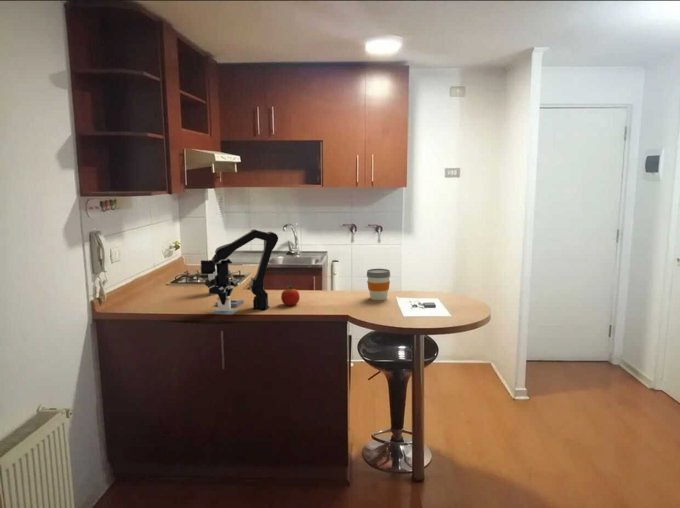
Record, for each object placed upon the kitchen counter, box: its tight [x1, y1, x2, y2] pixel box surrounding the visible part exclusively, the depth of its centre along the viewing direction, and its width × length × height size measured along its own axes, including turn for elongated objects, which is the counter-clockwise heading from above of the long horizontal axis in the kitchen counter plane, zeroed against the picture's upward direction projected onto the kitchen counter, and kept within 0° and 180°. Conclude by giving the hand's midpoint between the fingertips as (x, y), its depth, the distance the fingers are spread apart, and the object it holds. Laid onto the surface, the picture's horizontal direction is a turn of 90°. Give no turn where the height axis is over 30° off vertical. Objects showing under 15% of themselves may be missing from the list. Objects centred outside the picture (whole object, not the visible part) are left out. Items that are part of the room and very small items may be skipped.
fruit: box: [280, 285, 300, 307], centre depth 259 cm, size 10×10×10 cm
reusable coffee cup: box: [366, 268, 391, 301], centre depth 269 cm, size 13×13×15 cm
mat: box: [209, 308, 240, 316], centre depth 248 cm, size 12×8×1 cm, turn 75°
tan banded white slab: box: [216, 295, 232, 310], centre depth 247 cm, size 6×2×6 cm, turn 75°
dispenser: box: [215, 299, 245, 308], centre depth 261 cm, size 12×8×2 cm, turn 75°
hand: (224, 304), depth 247 cm, fingers closed on tan banded white slab, 2 cm apart
